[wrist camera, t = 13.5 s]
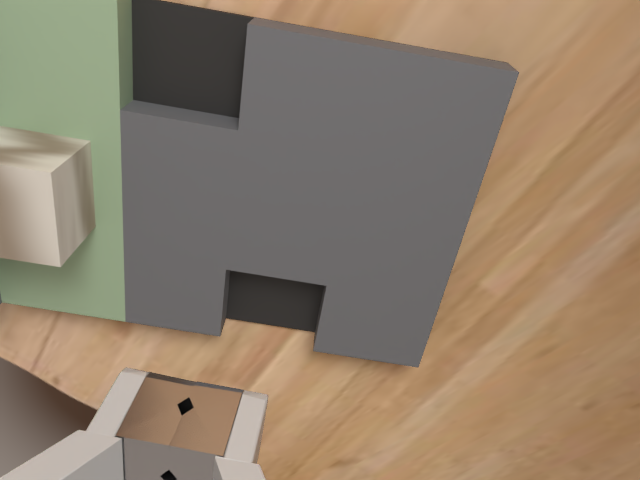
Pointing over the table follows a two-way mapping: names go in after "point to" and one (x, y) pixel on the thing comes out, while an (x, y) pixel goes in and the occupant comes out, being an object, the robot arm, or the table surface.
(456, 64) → the trap board
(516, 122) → the table surface
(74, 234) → the cream block
